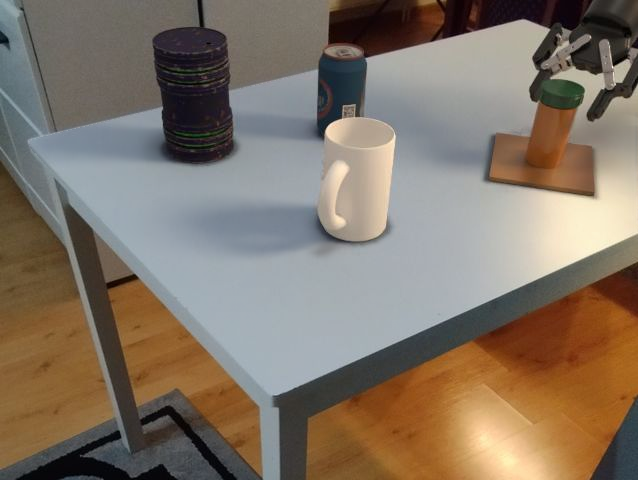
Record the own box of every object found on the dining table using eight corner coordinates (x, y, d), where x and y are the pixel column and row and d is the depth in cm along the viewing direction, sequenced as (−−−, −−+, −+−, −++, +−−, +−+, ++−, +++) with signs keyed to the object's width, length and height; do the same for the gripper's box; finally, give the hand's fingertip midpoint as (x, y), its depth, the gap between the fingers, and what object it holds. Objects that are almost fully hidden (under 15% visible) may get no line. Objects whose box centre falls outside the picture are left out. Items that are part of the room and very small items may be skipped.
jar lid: (581, 94, 93) (584, 81, 92) (581, 111, 89) (585, 98, 87) (538, 88, 94) (541, 76, 92) (537, 105, 90) (540, 92, 88)
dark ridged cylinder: (151, 153, 96) (135, 44, 86) (190, 126, 103) (179, 21, 93) (211, 169, 94) (201, 58, 83) (247, 140, 100) (242, 34, 90)
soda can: (310, 124, 105) (312, 43, 96) (353, 119, 106) (358, 39, 98) (324, 144, 100) (327, 61, 92) (369, 139, 102) (375, 56, 93)
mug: (290, 243, 81) (289, 149, 73) (340, 199, 89) (345, 110, 80) (350, 266, 78) (356, 171, 70) (397, 218, 86) (407, 128, 77)
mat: (590, 149, 101) (592, 145, 101) (593, 196, 91) (595, 192, 91) (495, 136, 103) (496, 132, 103) (488, 180, 94) (489, 176, 93)
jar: (561, 154, 98) (581, 86, 92) (561, 170, 95) (582, 101, 88) (525, 148, 99) (542, 81, 93) (523, 165, 96) (541, 96, 89)
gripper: (573, -30, 91) (508, 79, 92) (678, -6, 84) (606, 112, 85) (581, 4, 97) (520, 106, 99) (679, 29, 90) (612, 138, 92)
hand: (560, 108), depth 92 cm, fingers open, 8 cm apart
